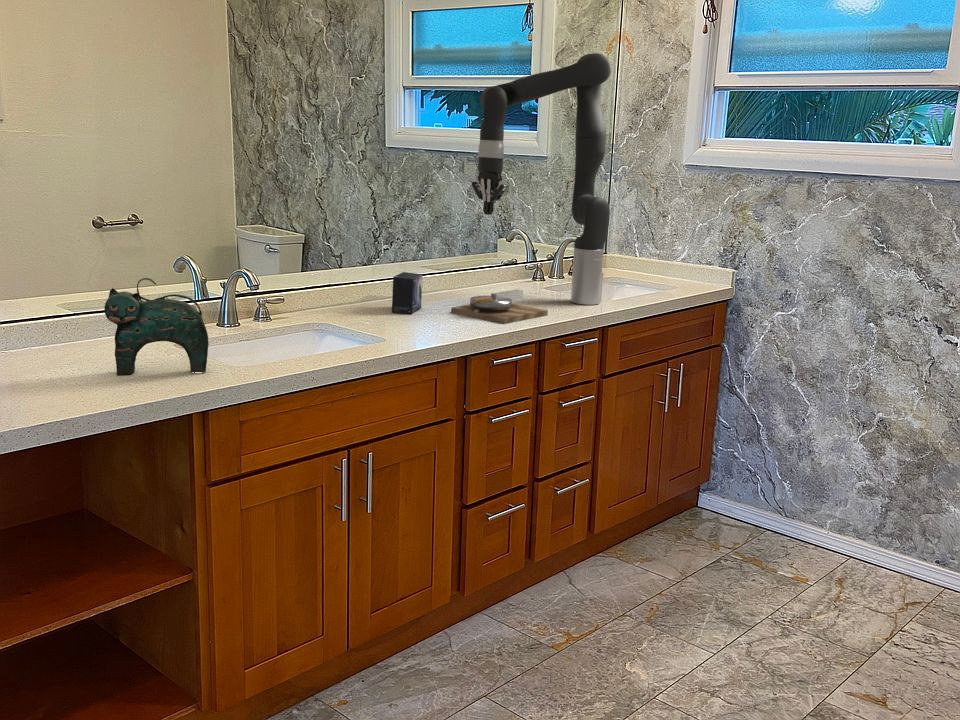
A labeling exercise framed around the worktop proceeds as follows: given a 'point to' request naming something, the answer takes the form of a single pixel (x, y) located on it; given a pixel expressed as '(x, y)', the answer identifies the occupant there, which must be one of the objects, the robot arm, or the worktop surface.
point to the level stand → (501, 313)
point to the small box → (407, 293)
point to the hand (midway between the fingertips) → (488, 214)
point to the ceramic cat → (155, 327)
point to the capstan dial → (497, 300)
